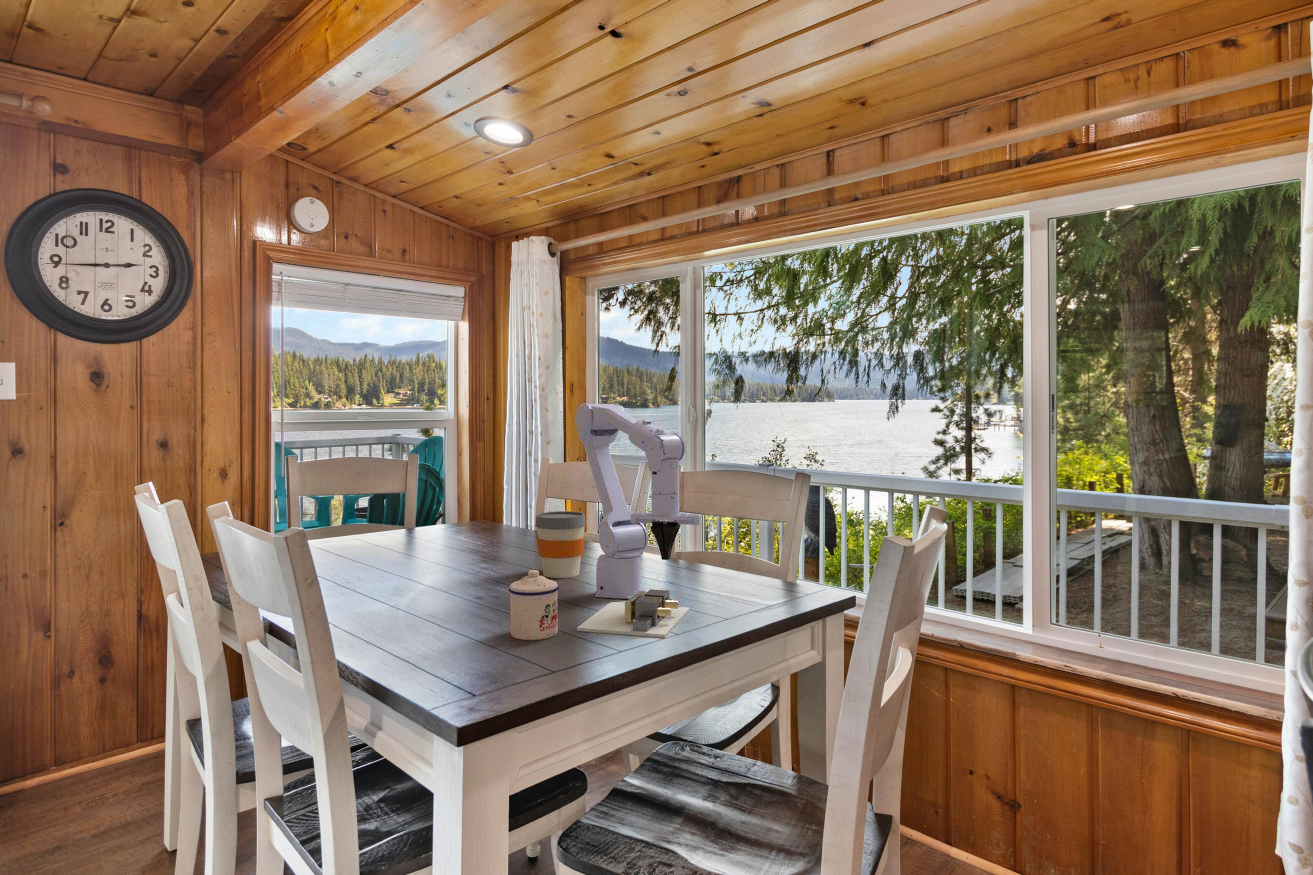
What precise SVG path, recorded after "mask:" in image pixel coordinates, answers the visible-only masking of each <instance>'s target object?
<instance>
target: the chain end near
mask: <svg viewBox="0 0 1313 875" xmlns="http://www.w3.org/2000/svg"><path fill="white" fill-rule="evenodd" d="M657 608H662V597H649V596H642V597H640V598H639V599H638V600H637V601H636V602H635V619H634V620H633V631H645V632H647V631H648V630H649V629H650V628H651V627H652V626H657V625H658V624H659V623H660V622H661V621H662V616H657Z"/></svg>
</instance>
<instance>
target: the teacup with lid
mask: <svg viewBox="0 0 1313 875" xmlns="http://www.w3.org/2000/svg"><path fill="white" fill-rule="evenodd" d="M527 574H528V575H527V576H523V577H522V578H521V579H519V580H517V581H514V582H512V583H511V584H510V585H509V587H508V592H509V608H510V609H509V611H510V613H509V617H510V622H509V623H510V629H509V630H510V635H511V637H513V638H515V639H517V640H522V641H539V640H540V641H541V640H545V639H550V638H553V637H554V636H556V635H557V633H558V632H559V620H558V618H559V617H558V616H559V613H558V611H559V608H558V606H559V604H558V600H559V598H558V594H559V592H558V590H560V589H559V588H560V587H559V583H557V581H555V580H552V579H548V577H545V576H544V575H540V572H539V570H536V569H531V570H529V571H528V573H527Z"/></svg>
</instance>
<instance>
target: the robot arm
mask: <svg viewBox="0 0 1313 875" xmlns="http://www.w3.org/2000/svg"><path fill="white" fill-rule="evenodd" d="M574 423H575V426H576V429H577V433H578V434H577V435H578V436H579V439H580V440H579V441H580V443H581V444H583V446H584V451H585V454H586V457H587V460H588V463H589V467H590V470H591V474H592V476H593V481H594V483H595V487H596V490H597V493H598V496H599V500H600V503H601V507H602V509H603V512H604V513H603V514H604V517H603V518H602V519H601V521H600V522H599V523H598V525H597V530H598V535H599V536H598V537H599V538H598V539H599V540H598V542H599V546H600V549H601V551H602V552H603V553H604V554H600V555H599V556H598V557H597V561H596V567H595V568H596V569H595V572H596V573H595V574H596V575H595V578H596V579H595V581H596V588H595V589H596V594H595V597H596V598H609V599H620V600H622V599H626V600H629V599H630V598H631V597H632V596H634V595H635V594H636V593H637V592H639V591H646V592H647V589H646V588H641V555H644V551H645V550H646V548H647V546H648V544H649V533H648V530H647V528H646V526H645V525H644V524H651V526H650V531H651V533H652V534H653V536H654V538H655V541H656V543H657V546H658V549H659V553H660V557H661V558H660V559H661V560H663V561H669V560H670V559H671V558H672V556H671V555H672V550H673V546H674V544H675V540H676V537H677V534H679V530H680V528H681V525H690V526H691V525H692V526H693V525H694V526H700V525H702V514H694V513H693V514H691V513H683V512H682V513H680V461H682V459H683V458H684V456H685V453H686V446H685V441H684V439H683V438H682V437H681V436H680V435H679V433H670V434H668V433H667V432H665V430H664V429H663V428H662V427H660V428H659V427H657V426H655V424H652V420H650V419H648V418H647V419H645V418H644V419H641V420H636V418H634V417H633V416H631V415H630V414H629V413H627V412H626V411H625V409H624V406H622V405H621V404H619V403H614V402H613V403H586V402H584V403H581V404H579V406H578V408H577V410H576V413H575V419H574ZM620 431H621V432H622V433H624V434H626V435H628V440H629V442H630V444H633V445H634V446H635V447H636V448H638V449H640V450H641V451H643V452H644V453H645V454H644V455H645V458H646V459H647V463H648V465H647V466H648V469H649V471H650V474H651V475H650V478H651V480H650V483H651V488H650V489H651V494H650V496H651V499H650V500H651V512H633V510H630V509H629V507H628V505H627V501H626V498H625V495H624V492H623V490H622V486H621V483H620V480H619V477H618V474H617V470H616V468H615V463H614V461H613V458H612V455H611V452H610V448H609V447H610V445H612V443H614V442H615V440H616V438H617V437H618V434H619V433H620Z"/></svg>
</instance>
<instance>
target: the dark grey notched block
mask: <svg viewBox="0 0 1313 875" xmlns="http://www.w3.org/2000/svg"><path fill="white" fill-rule="evenodd" d="M644 596H649V597H662V608H665V600H670V601H672V598H670V596H671V593H670V590H667V589H665V590H664V589H653V588H650V589H649V590H648V591H646V593H645V594H644ZM665 617H666V616H662V618H665Z"/></svg>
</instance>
